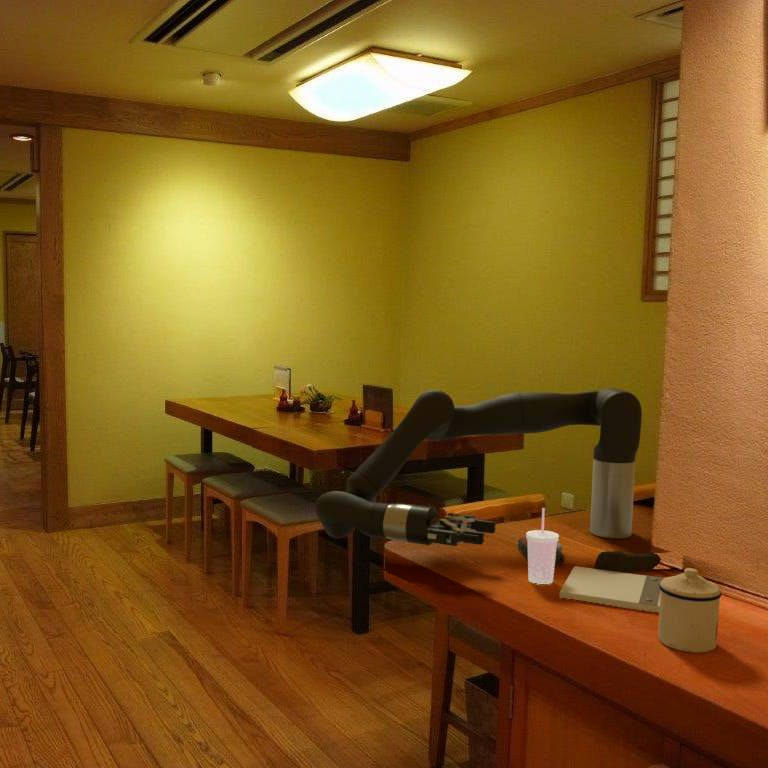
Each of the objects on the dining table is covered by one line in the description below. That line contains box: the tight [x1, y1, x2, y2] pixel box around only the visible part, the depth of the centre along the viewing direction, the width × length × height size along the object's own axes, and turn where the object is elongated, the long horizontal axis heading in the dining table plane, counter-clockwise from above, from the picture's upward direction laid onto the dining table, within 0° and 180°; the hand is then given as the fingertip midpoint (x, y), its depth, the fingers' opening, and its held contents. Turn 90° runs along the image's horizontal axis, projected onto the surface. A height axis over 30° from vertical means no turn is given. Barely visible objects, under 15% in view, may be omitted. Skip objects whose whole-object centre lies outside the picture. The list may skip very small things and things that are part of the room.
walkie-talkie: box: [517, 536, 565, 565], centre depth 177 cm, size 9×4×20 cm
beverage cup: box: [525, 507, 560, 585], centre depth 158 cm, size 6×6×14 cm
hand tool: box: [593, 550, 661, 573], centre depth 165 cm, size 19×4×5 cm, turn 103°
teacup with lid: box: [657, 567, 722, 654], centre depth 131 cm, size 12×9×12 cm
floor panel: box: [559, 565, 666, 614], centre depth 152 cm, size 16×24×2 cm, turn 68°
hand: (489, 533), depth 161 cm, fingers open, 8 cm apart
